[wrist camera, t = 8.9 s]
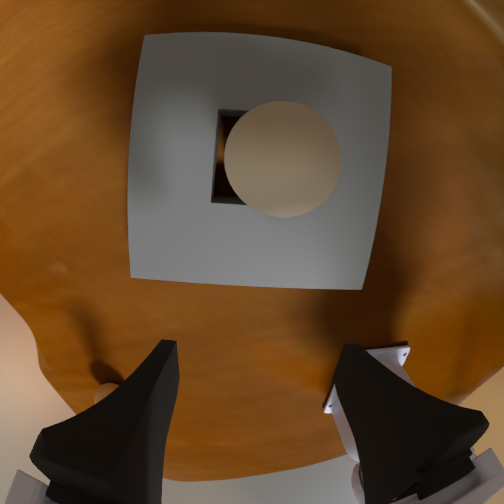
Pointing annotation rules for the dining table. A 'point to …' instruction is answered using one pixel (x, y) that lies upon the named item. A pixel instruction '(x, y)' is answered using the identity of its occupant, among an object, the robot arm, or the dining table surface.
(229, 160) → the birch dowel
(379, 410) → the robot arm
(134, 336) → the dining table surface
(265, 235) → the socket block
